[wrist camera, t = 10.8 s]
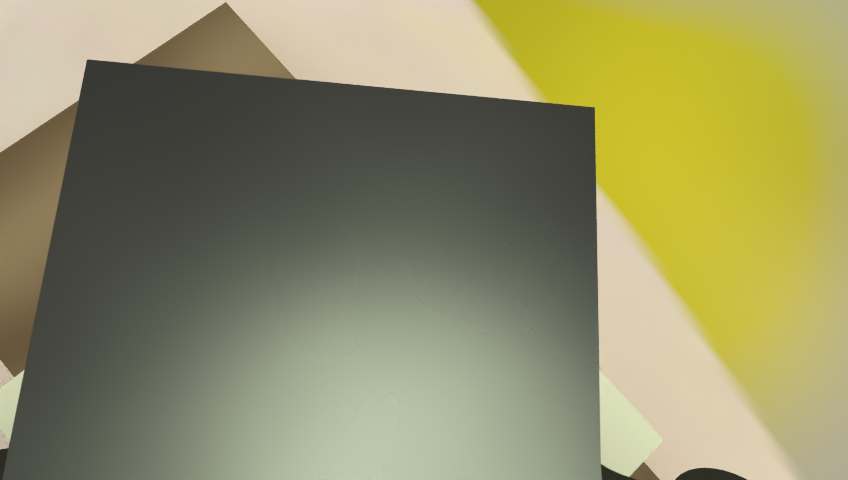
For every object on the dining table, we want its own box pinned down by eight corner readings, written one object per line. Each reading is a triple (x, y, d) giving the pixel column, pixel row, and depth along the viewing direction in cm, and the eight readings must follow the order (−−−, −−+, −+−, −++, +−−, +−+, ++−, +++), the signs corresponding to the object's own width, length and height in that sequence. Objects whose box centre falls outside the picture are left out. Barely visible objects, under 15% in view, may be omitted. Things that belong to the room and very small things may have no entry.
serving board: (-76, 237, 22) (-106, 223, 20) (233, 26, 25) (225, 2, 23) (434, 886, 19) (441, 924, 17) (714, 558, 22) (740, 568, 20)
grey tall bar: (273, 511, 16) (-85, 912, 3) (290, 343, 17) (86, 59, 4) (399, 516, 17) (609, 902, 3) (408, 350, 18) (594, 107, 4)
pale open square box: (89, 408, 19) (-20, 403, 14) (358, 193, 22) (362, 111, 16) (318, 698, 18) (304, 825, 12) (575, 435, 21) (664, 439, 15)
